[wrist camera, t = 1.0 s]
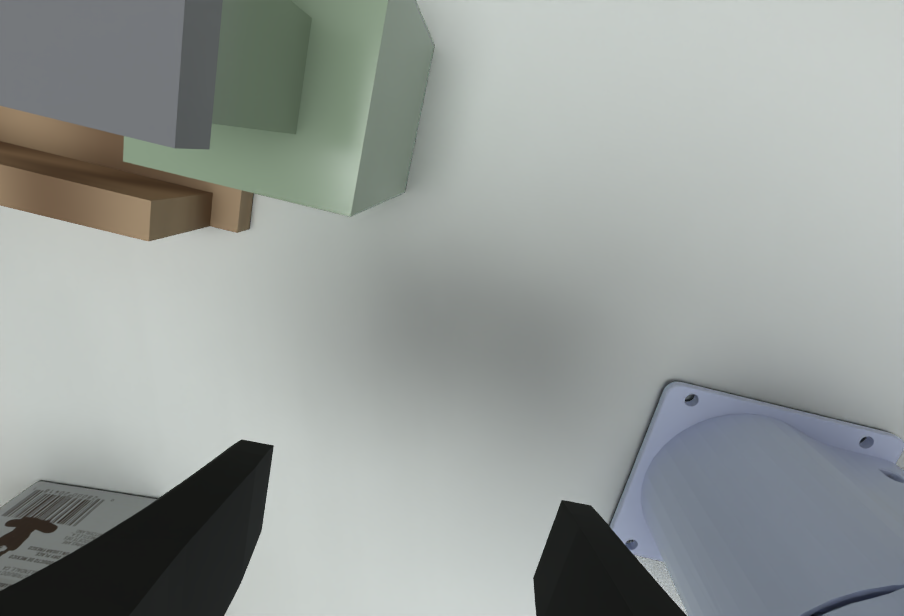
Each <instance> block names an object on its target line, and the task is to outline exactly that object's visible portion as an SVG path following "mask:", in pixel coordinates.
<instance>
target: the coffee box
mask: <svg viewBox="0 0 904 616" xmlns="http://www.w3.org/2000/svg"><path fill="white" fill-rule="evenodd" d="M155 500H157V499H152V498H146V497H140V496H134V495H127V494H121V493H114V492H108V491H102V490H95V489H88V488H82V487H76V486H69V485H62V484H56V483H50V482H44V481H38V482H36V483H35V484H33V485H32V486H30V487H29V488H27V489H26V490H24V491H23V492H22V493H20V494H19V495H17V496H16V497H15V498H13V499H12V500H10V501H9V502H8V503H6V504H5V505H3V506H2V507H1V508H0V591H1V590H3V589H5V588H7V587H9V586H11V585H13V584H15V583H17V582H19V581H20V580H22V579H24V578H26V577H28V576H30V575H32V574H34V573H35V572H37V571H39V570H41V569H43V568H45V567H47V566H48V565H50V564H52V563H54V562H56V561H58V560H59V559H61V558H63V557H65V556H67V555H68V554H70V553H72V552H73V551H75V550H77V549H79V548H80V547H82V546H84V545H86V544H87V543H89V542H91V541H92V540H94V539H96V538H97V537H99V536H100V535H102V534H104V533H105V532H107V531H109V530H110V529H112V528H113V527H115V526H117V525H118V524H120V523H121V522H123V521H125V520H126V519H128V518H129V517H131V516H133V515H134V514H136V513H137V512H139V511H140V510H142V509H144V508H145V507H147V506H148V505H150V504H151V503H153V502H154V501H155Z"/></svg>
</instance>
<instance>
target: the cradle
mask: <svg viewBox="0 0 904 616" xmlns="http://www.w3.org/2000/svg"><path fill="white" fill-rule="evenodd" d="M123 149H124V136H122V135H118V134H114V133H110V132H106V131H101V130H97V129H93V128H89V127H85V126H81V125H77V124H73V123H69V122H65V121H61V120H56V119H52V118H48V117H44V116H40V115H36V114H32V113H28V112H24V111H20V110H16V109H12V108H7V107H3V106H0V205H1V206H5V207H9V208H13V209H17V210H22V211H26V212H30V213H34V214H38V215H42V216H46V217H50V218H55V219H59V220H63V221H67V222H71V223H75V224H79V225H83V226H88V227H92V228H96V229H100V230H104V231H108V232H112V233H116V234H121V235H125V236H129V237H133V238H137V239H141V240H145V241H152V240H156V239H160V238H164V237H168V236H172V235H176V234H180V233H184V232H188V231H192V230H196V229H200V228H204V227H208V226H212V227H216V228H220V229H224V230H228V231H232V232H236V233H238V232H241V231H244V230H247V229H249V227H250V218H251V209H252V201H253V193H251V192H247V191H243V190H238V189H234V188H230V187H226V186H222V185H218V184H214V183H210V182H206V181H202V180H197V179H193V178H189V177H185V176H181V175H177V174H173V173H169V172H165V171H161V170H157V169H152V168H148V167H144V166H140V165H136V164H132V163H128V162H124V161H123Z"/></svg>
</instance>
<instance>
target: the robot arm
mask: <svg viewBox="0 0 904 616" xmlns="http://www.w3.org/2000/svg"><path fill="white" fill-rule="evenodd" d="M690 394H695V396H694V398H693V400H691V401H689V402H685V398H686V397H687V396H688V395H690ZM864 437H866V439H865V440H864V441H863V442H861V443H860V440H861V439H862V438H864ZM273 447H274V446H273V445H268V444H262V443H257V442H252V441H247V440H240V441H238V442H237V443H235V444H234V445H232V446H231V447H230V448H228V449H227V450H226V451H224V452H223V453H222V454H220V455H219V456H217V457H216V458H215V459H213V460H212V461H211V462H209V463H208V464H207V465H205V466H204V467H203V468H201V469H200V470H198V471H197V472H196V473H194V474H193V475H191V476H190V477H189V478H187V479H186V480H185V481H183V482H182V483H180V484H179V485H177V486H176V487H174V488H173V489H171V490H170V491H169V492H167V493H166V494H164V495H163V496H161V497H160V498H158V499H157V500H155V501H154V502H153V503H151V504H150V505H148V506H147V507H145V508H144V509H142V510H140V511H139V512H137V513H136V514H134V515H133V516H131V517H129V518H128V519H126V520H125V521H123V522H121V523H120V524H118V525H117V526H115V527H113V528H112V529H110V530H109V531H107V532H105V533H104V534H102V535H100V536H99V537H97V538H96V539H94V540H92V541H91V542H89V543H87V544H86V545H84V546H82V547H80V548H79V549H77V550H75V551H73V552H72V553H70V554H68V555H67V556H65V557H63V558H61V559H59V560H58V561H56V562H54V563H52V564H50V565H48V566H47V567H45V568H43V569H41V570H39V571H37V572H35V573H34V574H32V575H30V576H28V577H26V578H24V579H22V580H20V581H19V582H17V583H15V584H13V585H11V586H9V587H7V588H5V589H3V590H1V591H0V616H224V615H225V613H226V611H227V609H228V607H229V605H230V603H231V601H232V599H233V597H234V595H235V593H236V591H237V589H238V588H239V586H240V584H241V581H242V579H243V576H244V574H245V571H246V569H247V566H248V564H249V561H250V559H251V556H252V554H253V551H254V549H255V546H256V543H257V541H258V538H259V536H260V533H261V530H262V524H263V517H264V510H265V503H266V496H267V489H268V482H269V475H270V468H271V461H272V454H273ZM903 449H904V442H903V441H902V439H901V438H899V437H898V436H896V435H894V434H892V433H889V432H885V431H881V430H877V429H873V428H869V427H865V426H861V425H856V424H852V423H848V422H844V421H840V420H836V419H832V418H828V417H823V416H819V415H815V414H811V413H807V412H803V411H799V410H795V409H790V408H786V407H782V406H778V405H774V404H770V403H766V402H762V401H757V400H753V399H749V398H745V397H741V396H737V395H733V394H729V393H724V392H720V391H716V390H712V389H708V388H704V387H700V386H696V385H691V384H687V383H683V382H672V383H670V384H668V385H667V386H666V387H665V389H664V390H663V393H662V395H661V398H660V400H659V403H658V405H657V408H656V410H655V413H654V416H653V418H652V421H651V423H650V426H649V428H648V431H647V433H646V436H645V438H644V441H643V443H642V446H641V448H640V451H639V453H638V456H637V459H636V461H635V464H634V466H633V469H632V471H631V474H630V476H629V479H628V481H627V484H626V486H625V489H624V491H623V494H622V496H621V499H620V501H619V504H618V507H617V509H616V512H615V514H614V517H613V519H612V522H611V524H610V526H609V525H608V524H607V523H606V522H605V521H604V519H603V518H602V517H601V516H600V515H599V514H598V513H597V512H596V511H595V509H594V508H593V507H592V506H591V505H585V504H580V503H575V502H569V501H564V500H562V501H561V504H560V507H559V509H558V512H557V515H556V518H555V520H554V523H553V526H552V528H551V531H550V534H549V537H548V539H547V542H546V545H545V548H544V550H543V553H542V556H541V559H540V561H539V564H538V567H537V569H536V572H535V575H534V578H533V579H534V592H535V606H536V616H687V615H686V614H685V613H684V612H683V611H682V610H681V609H680V608H679V607H678V605H677V604H676V603H675V602H674V601H673V600H672V599H671V598H670V597H669V595H668V594H667V593H666V592H665V591H664V590H663V589H662V588H661V586H660V585H659V584H658V583H657V582H656V581H655V579H654V578H653V577H652V576H651V575H650V574H649V573H648V571H647V570H646V569H645V568H644V567H643V565H642V564H641V563H640V562H639V561H638V560H637V558H636V557H635V556H634V555H637V556H642V557H646V558H650V559H654V560H658V561H663V562H664V563H665V565H666V567H667V569H668V571H669V574H670V576H671V578H672V580H673V583H674V585H675V587H676V589H677V591H678V594H679V596H680V598H681V600H682V603H683V605H684V607H685V609H686V611H687V614H688V616H904V470H903V469H902V468H900V467H899V466H898V465H896V462H897V460H898V459H899V457H900V455H901V453H902V452H903ZM628 540H634V541H633V542H631V543H626V542H627V541H628Z"/></svg>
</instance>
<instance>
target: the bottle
mask: <svg viewBox="0 0 904 616" xmlns="http://www.w3.org/2000/svg"><path fill="white" fill-rule="evenodd" d="M434 46H435V45H434V42H433V40H432V38H431V35H430V33H429V31H428V28H427V26H426V24H425V21H424V19H423V16H422V14H421V12H420V9H419V7H418V5H417V2H416V0H0V106H3V107H7V108H12V109H16V110H20V111H24V112H28V113H32V114H36V115H40V116H44V117H48V118H52V119H56V120H61V121H65V122H69V123H73V124H77V125H81V126H85V127H89V128H93V129H97V130H101V131H106V132H110V133H114V134H118V135H122V136H124V149H123V161H124V162H128V163H132V164H136V165H140V166H144V167H148V168H152V169H157V170H161V171H165V172H169V173H173V174H177V175H181V176H185V177H189V178H193V179H197V180H202V181H206V182H210V183H214V184H218V185H222V186H226V187H230V188H234V189H238V190H243V191H247V192H251V193H255V194H259V195H263V196H267V197H271V198H275V199H279V200H283V201H288V202H292V203H296V204H300V205H304V206H308V207H312V208H316V209H320V210H324V211H329V212H333V213H337V214H341V215H345V216H349V217H351V216H353V215H356V214H358V213H360V212H362V211H365V210H367V209H369V208H371V207H374V206H376V205H378V204H380V203H383V202H385V201H387V200H389V199H392V198H394V197H396V196H398V195H401V194H403V193H405V189H406V184H407V179H408V174H409V169H410V164H411V160H412V155H413V150H414V145H415V140H416V135H417V130H418V125H419V120H420V115H421V110H422V105H423V100H424V96H425V91H426V86H427V81H428V76H429V71H430V66H431V61H432V56H433V51H434Z"/></svg>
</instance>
